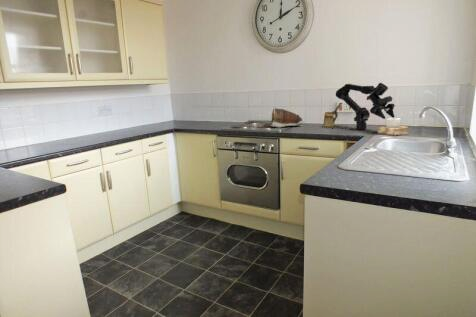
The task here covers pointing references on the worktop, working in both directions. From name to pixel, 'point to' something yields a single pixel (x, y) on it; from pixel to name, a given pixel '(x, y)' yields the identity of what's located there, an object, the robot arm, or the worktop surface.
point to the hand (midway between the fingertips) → (389, 118)
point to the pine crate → (393, 130)
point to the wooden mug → (330, 118)
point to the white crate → (393, 123)
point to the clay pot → (284, 118)
